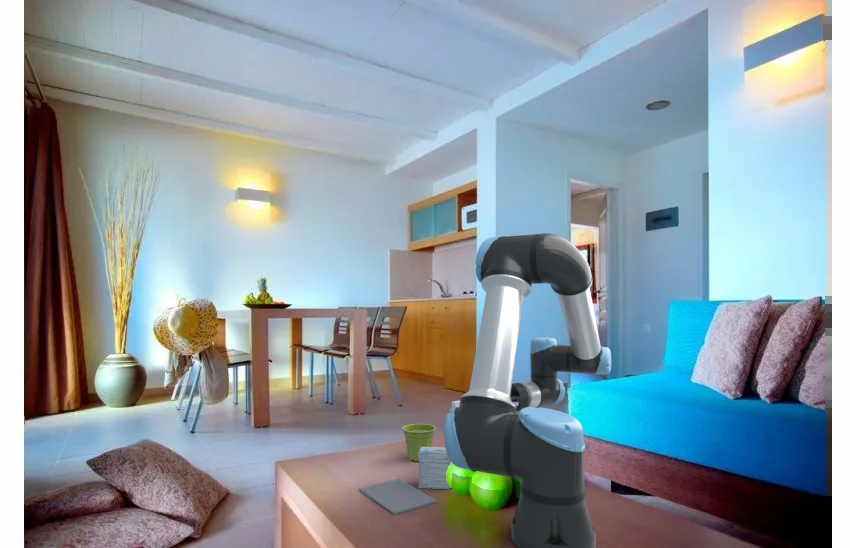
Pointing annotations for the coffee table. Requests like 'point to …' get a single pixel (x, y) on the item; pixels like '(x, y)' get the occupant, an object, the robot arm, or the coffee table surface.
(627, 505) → the coffee table surface
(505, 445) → the robot arm
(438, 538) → the coffee table surface
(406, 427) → the plant pot
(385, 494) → the mat
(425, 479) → the medicine box
